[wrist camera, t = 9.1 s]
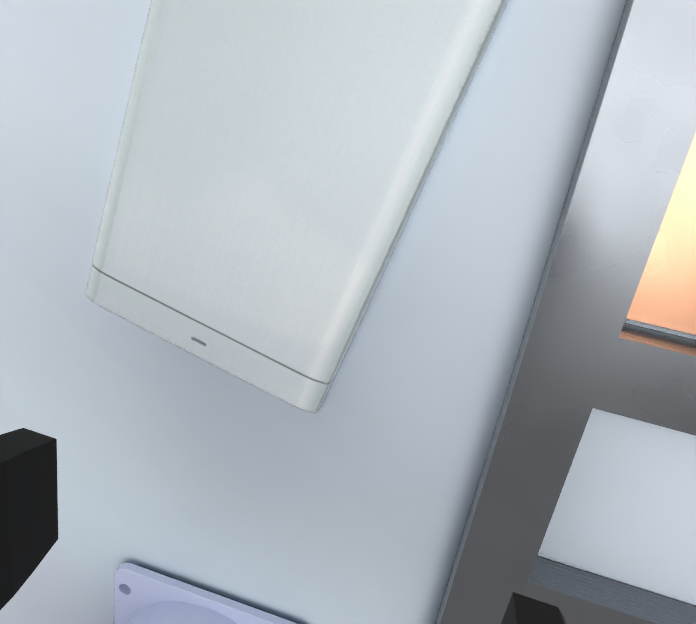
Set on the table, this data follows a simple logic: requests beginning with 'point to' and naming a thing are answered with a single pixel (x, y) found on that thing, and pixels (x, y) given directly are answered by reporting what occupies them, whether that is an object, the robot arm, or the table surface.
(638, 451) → the table surface
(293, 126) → the hard drive
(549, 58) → the table surface
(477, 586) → the grey window frame
